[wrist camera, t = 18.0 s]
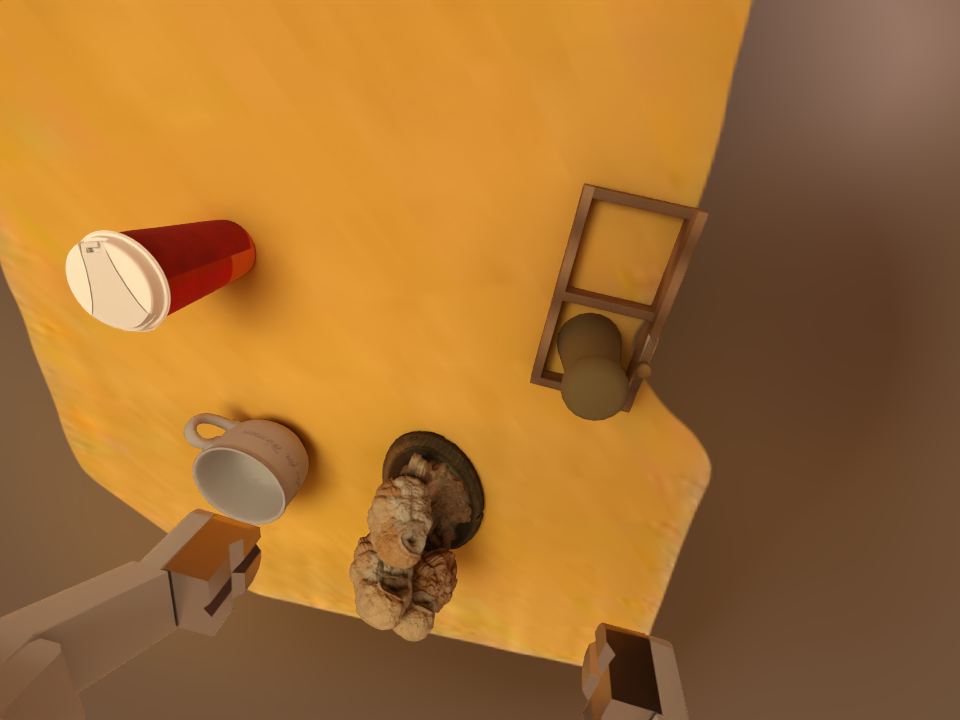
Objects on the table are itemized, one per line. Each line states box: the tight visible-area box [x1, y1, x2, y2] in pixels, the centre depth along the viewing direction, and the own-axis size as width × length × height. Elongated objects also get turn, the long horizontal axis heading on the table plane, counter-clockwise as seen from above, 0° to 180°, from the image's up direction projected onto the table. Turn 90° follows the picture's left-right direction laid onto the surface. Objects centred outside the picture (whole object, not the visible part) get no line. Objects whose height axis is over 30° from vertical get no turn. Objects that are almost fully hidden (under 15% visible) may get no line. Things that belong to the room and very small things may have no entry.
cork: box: [557, 313, 629, 421], centre depth 40 cm, size 6×6×11 cm
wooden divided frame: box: [530, 184, 709, 413], centre depth 41 cm, size 18×10×4 cm, turn 169°
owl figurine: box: [350, 431, 484, 642], centre depth 48 cm, size 18×12×17 cm, turn 13°
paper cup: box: [66, 220, 256, 332], centre depth 40 cm, size 8×8×14 cm
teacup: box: [184, 413, 309, 525], centre depth 53 cm, size 14×11×8 cm
